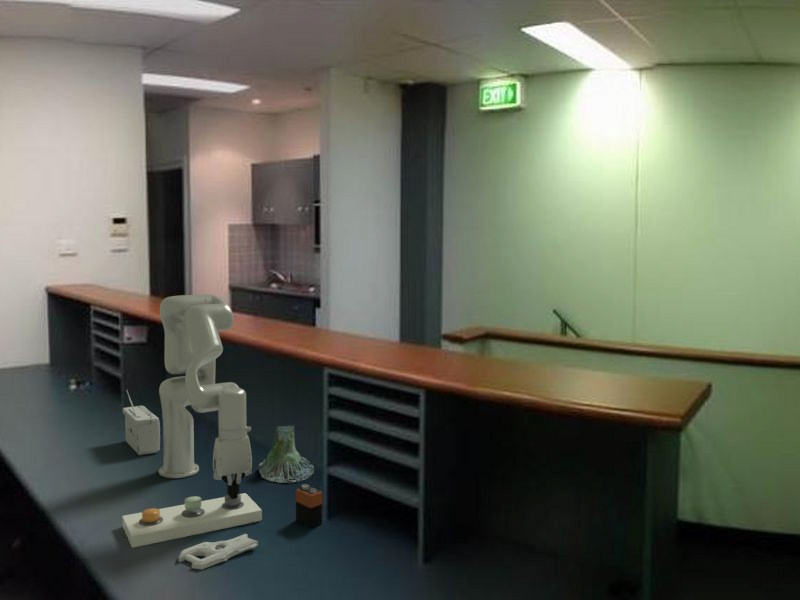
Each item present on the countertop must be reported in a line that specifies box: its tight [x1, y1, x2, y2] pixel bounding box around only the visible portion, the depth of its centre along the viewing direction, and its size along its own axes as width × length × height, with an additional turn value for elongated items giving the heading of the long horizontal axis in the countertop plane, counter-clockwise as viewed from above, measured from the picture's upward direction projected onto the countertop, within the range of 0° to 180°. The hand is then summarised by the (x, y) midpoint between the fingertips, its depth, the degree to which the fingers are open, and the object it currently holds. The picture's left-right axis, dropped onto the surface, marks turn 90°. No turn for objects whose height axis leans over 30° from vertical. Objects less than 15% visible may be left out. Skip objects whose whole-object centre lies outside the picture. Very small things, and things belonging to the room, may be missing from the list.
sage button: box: [184, 495, 202, 510], centre depth 187 cm, size 4×4×2 cm
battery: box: [295, 483, 323, 528], centre depth 190 cm, size 4×7×10 cm, turn 46°
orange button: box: [141, 507, 160, 523], centre depth 182 cm, size 4×4×2 cm
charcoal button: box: [224, 493, 241, 507], centre depth 193 cm, size 4×4×2 cm
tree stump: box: [257, 425, 315, 484], centre depth 228 cm, size 18×20×18 cm
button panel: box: [121, 492, 263, 549], centre depth 187 cm, size 14×34×3 cm, turn 121°
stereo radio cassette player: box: [122, 389, 161, 456], centre depth 250 cm, size 21×8×20 cm, turn 35°
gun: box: [178, 533, 259, 570], centre depth 170 cm, size 18×4×10 cm
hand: (233, 496), depth 192 cm, fingers closed
